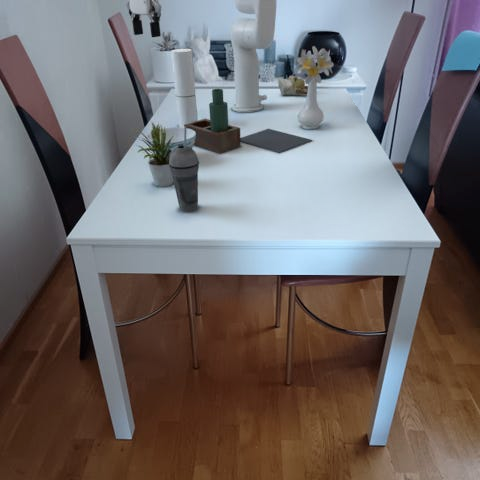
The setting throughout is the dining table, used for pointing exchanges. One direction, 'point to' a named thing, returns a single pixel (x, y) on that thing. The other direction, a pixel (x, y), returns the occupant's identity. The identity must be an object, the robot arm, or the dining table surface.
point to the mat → (274, 140)
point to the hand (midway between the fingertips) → (147, 35)
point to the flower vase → (313, 84)
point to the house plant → (159, 156)
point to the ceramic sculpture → (292, 85)
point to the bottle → (218, 112)
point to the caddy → (214, 136)
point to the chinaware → (176, 138)
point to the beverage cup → (185, 176)
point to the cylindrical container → (184, 86)
